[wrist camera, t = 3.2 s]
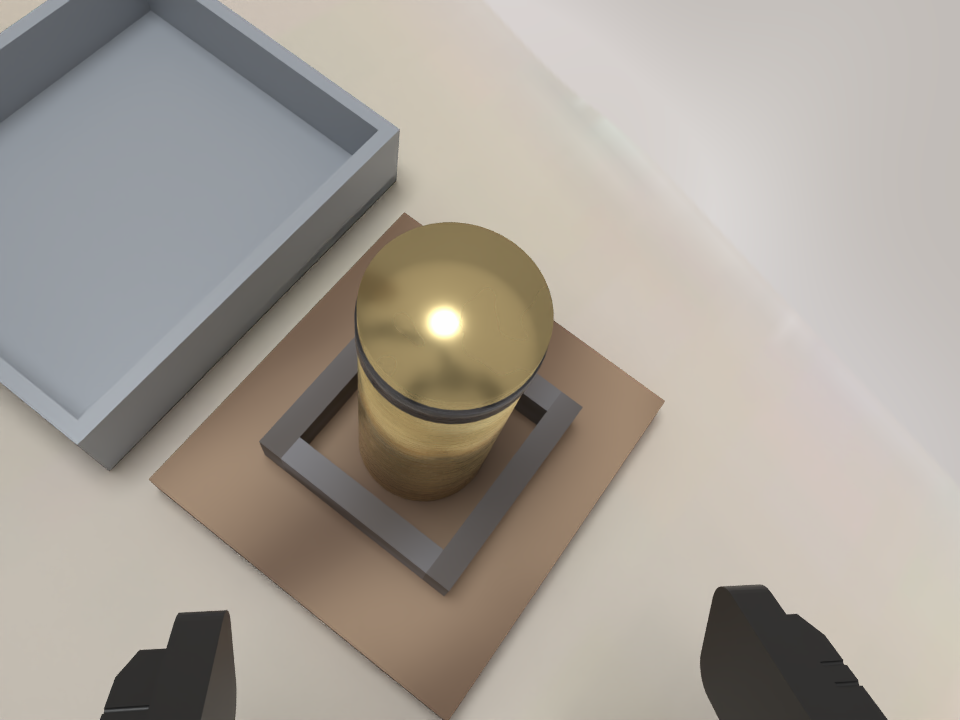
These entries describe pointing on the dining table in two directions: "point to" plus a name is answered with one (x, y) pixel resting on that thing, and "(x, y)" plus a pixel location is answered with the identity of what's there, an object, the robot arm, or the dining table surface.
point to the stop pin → (444, 353)
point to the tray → (159, 201)
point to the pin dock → (394, 520)
